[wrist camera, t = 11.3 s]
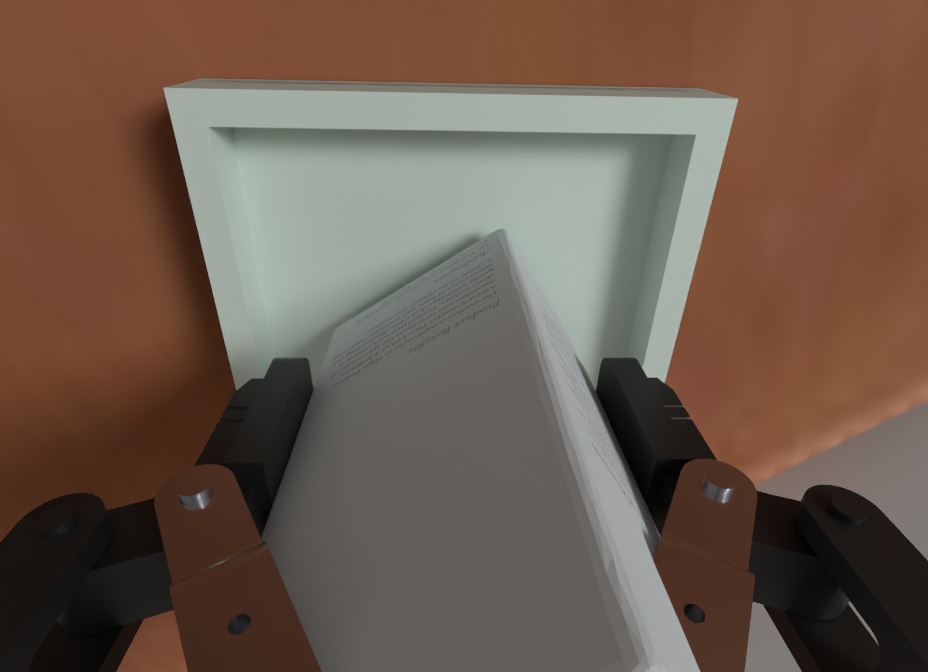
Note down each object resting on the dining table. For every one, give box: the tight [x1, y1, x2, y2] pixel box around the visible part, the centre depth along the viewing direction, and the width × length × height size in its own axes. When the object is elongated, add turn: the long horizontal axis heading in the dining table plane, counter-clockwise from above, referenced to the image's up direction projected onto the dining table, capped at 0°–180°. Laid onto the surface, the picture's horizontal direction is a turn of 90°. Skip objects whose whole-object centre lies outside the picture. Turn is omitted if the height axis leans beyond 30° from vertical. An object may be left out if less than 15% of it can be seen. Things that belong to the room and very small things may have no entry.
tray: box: [164, 78, 738, 391], centre depth 16 cm, size 13×13×2 cm
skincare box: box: [261, 229, 700, 672], centre depth 11 cm, size 6×4×12 cm
